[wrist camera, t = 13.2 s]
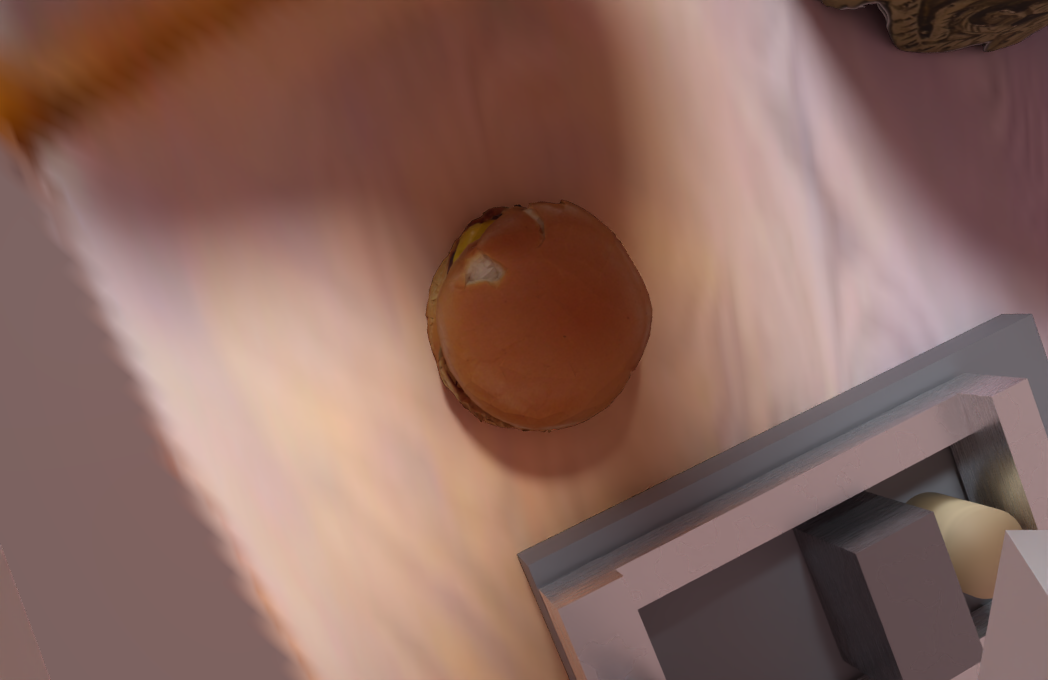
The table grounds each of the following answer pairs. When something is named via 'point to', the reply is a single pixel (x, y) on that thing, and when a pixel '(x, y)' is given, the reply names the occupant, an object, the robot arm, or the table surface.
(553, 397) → the burger
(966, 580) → the nut
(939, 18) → the lamp shade
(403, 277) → the table surface
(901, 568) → the grey rectangular block
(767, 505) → the press ram
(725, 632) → the press bench
